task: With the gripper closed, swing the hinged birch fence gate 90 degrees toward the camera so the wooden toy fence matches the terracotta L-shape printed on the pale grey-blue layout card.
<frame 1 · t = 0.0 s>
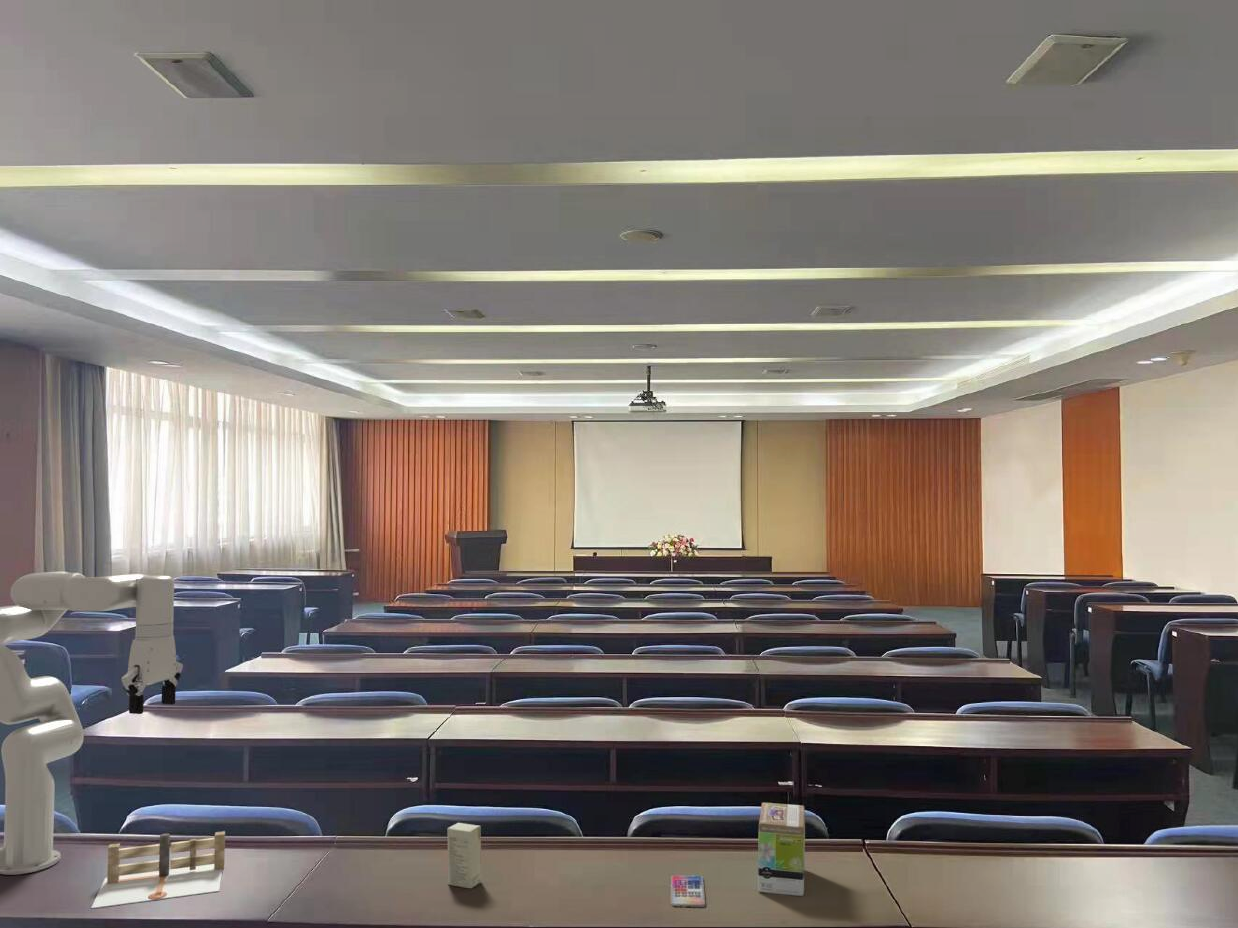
hand: (152, 708, 202), 37 cm above the table, tool pointing down, fingers open, 9 cm apart
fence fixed: (138, 879, 200), resting on layout card
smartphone: (687, 894, 194), on the table
layout card: (161, 884, 197), on the table
tea box: (782, 881, 200), on the table
skincare box: (464, 884, 199), on the table
fence gate: (197, 852, 205), point 4 cm above the table, hinge at 0.0°
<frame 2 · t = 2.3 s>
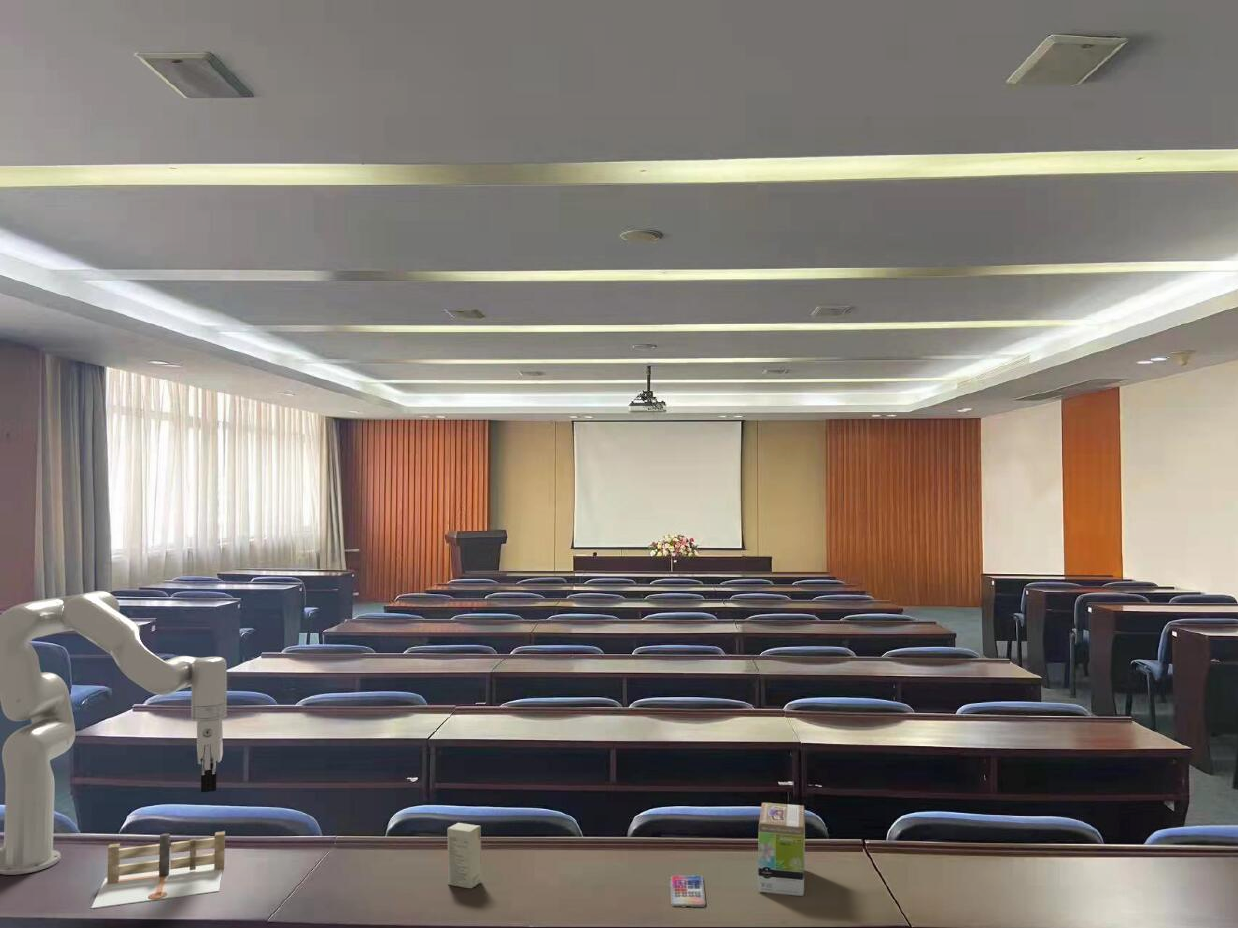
hand: (208, 790, 211), 16 cm above the table, tool pointing down, fingers closed
nothing on the table moved.
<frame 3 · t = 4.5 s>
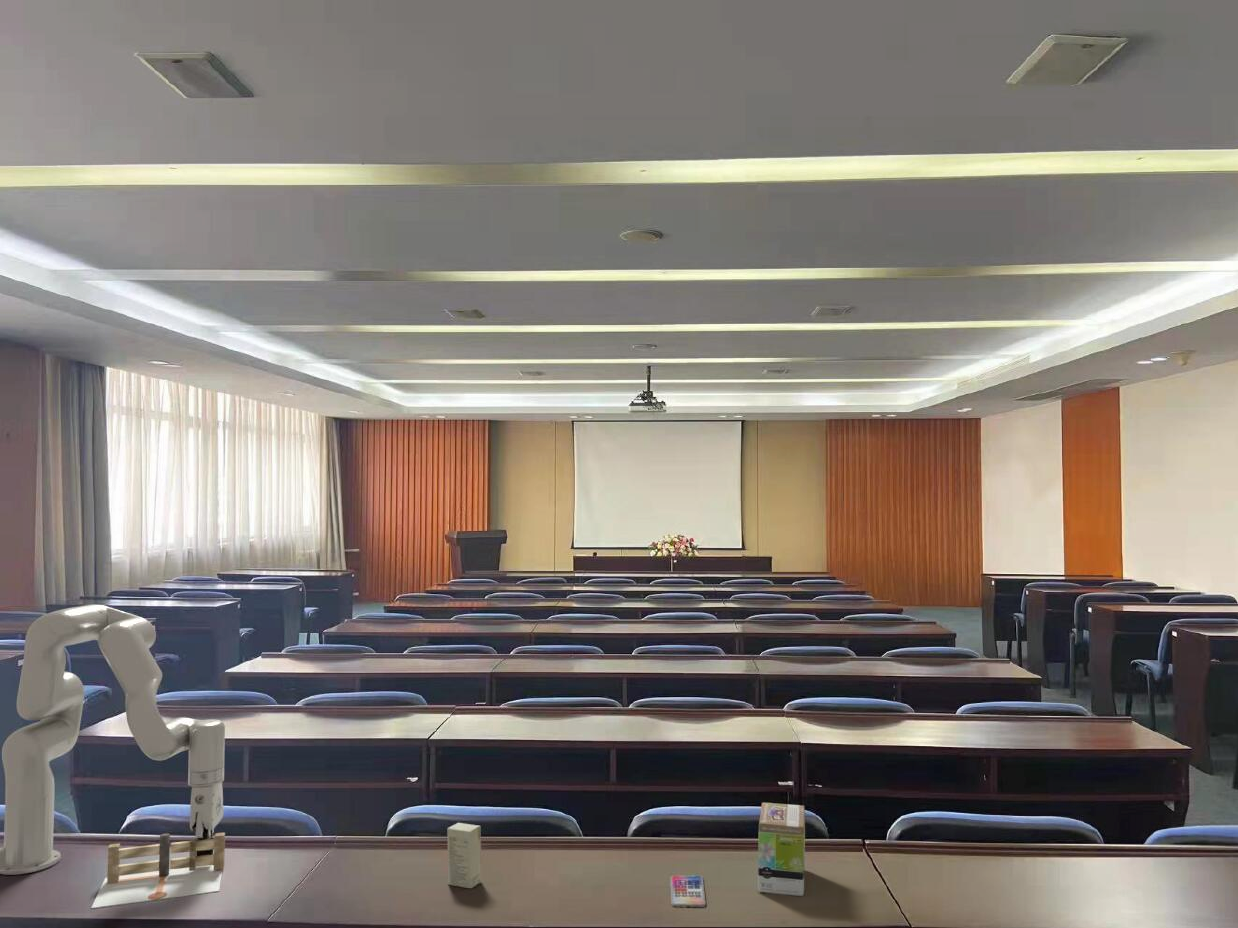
hand: (204, 856, 208), 2 cm above the table, tool pointing down, fingers closed
fence gate: (197, 853, 204), point 4 cm above the table, hinge at -3.8°, touching gripper
everything else where it was.
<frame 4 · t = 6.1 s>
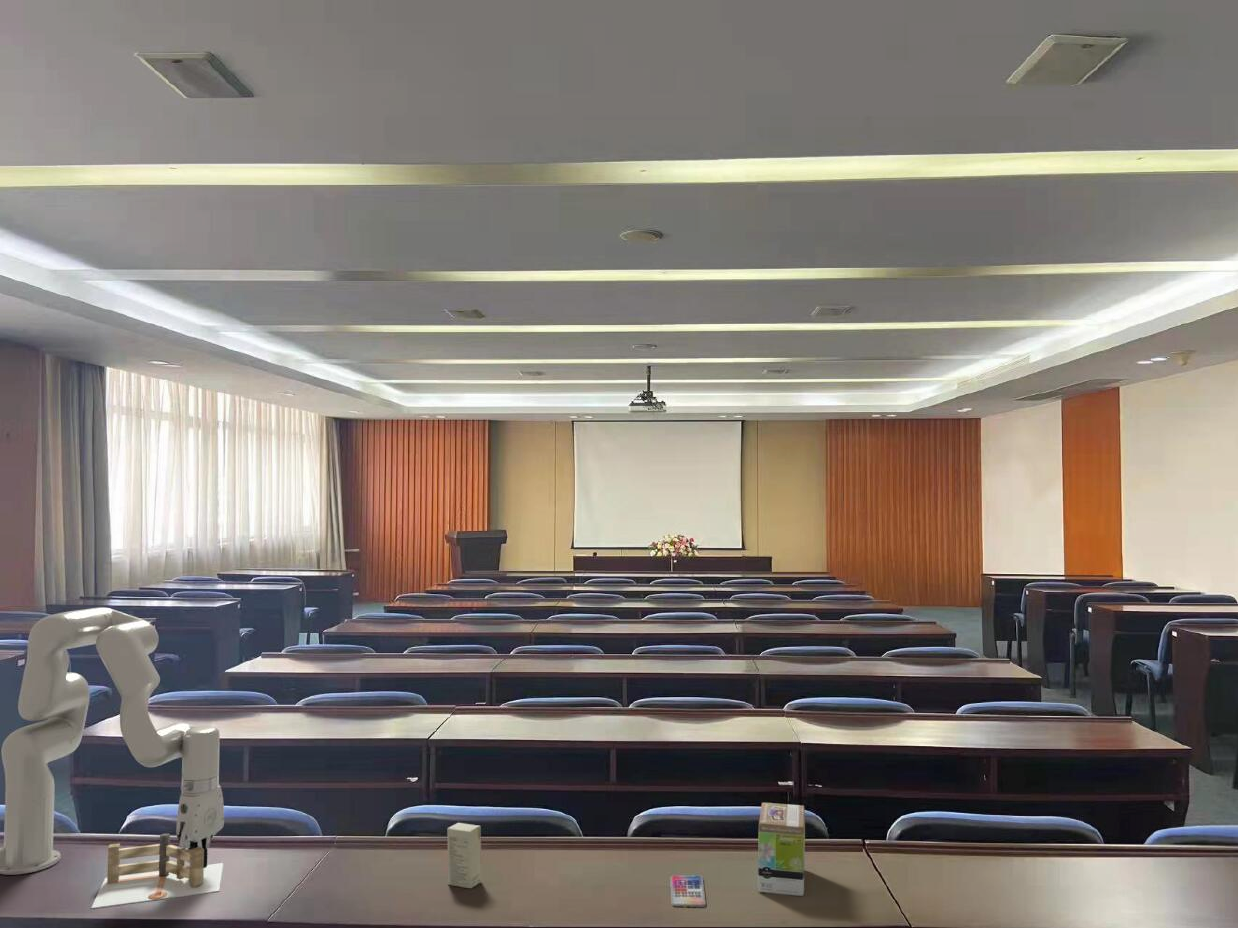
hand: (198, 867, 202), 2 cm above the table, tool pointing down, fingers closed
fence gate: (183, 862, 199), point 4 cm above the table, hinge at -50.4°, touching gripper
everything else where it was.
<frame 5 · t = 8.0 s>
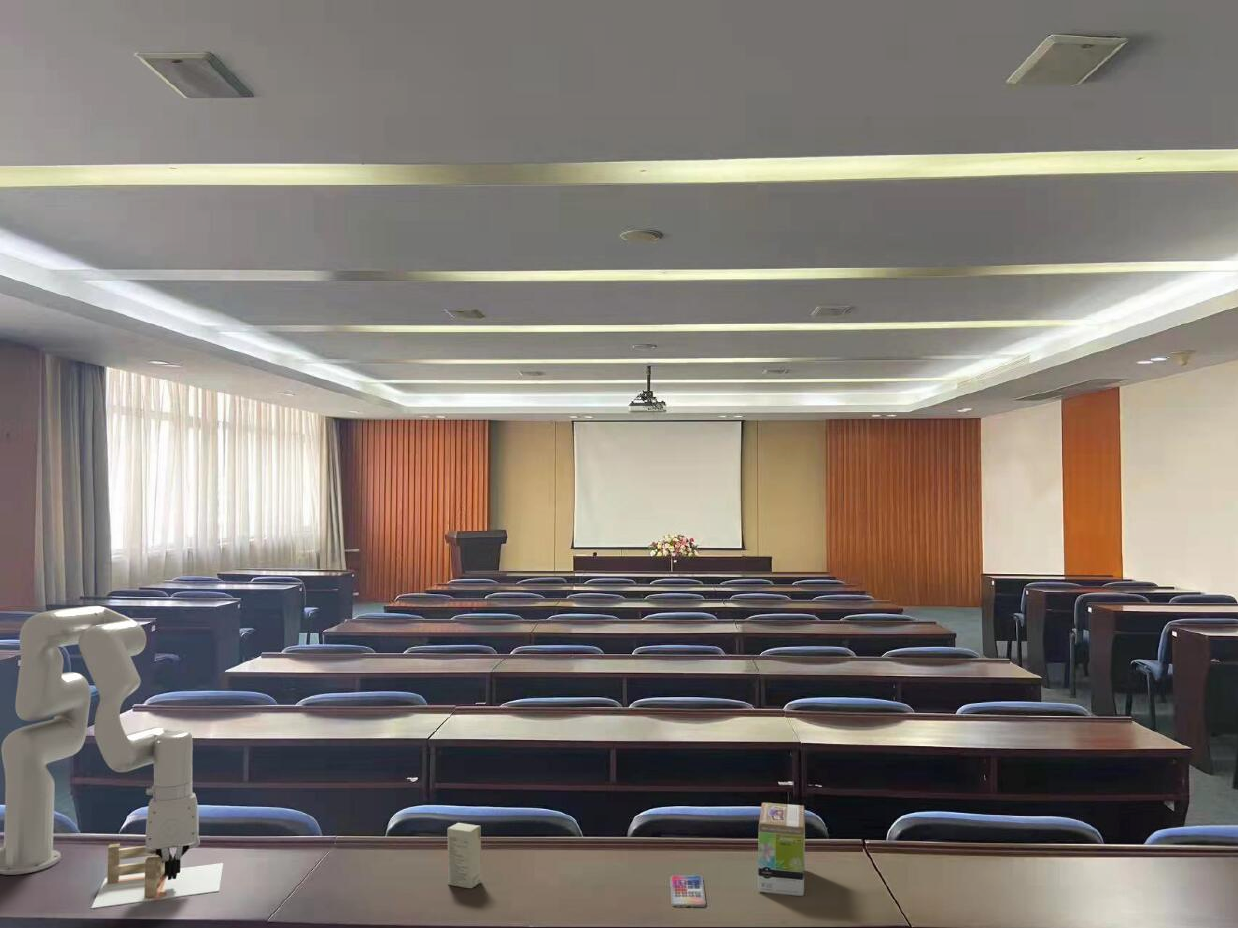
hand: (172, 877, 196), 2 cm above the table, tool pointing down, fingers closed
fence gate: (156, 868, 196), point 4 cm above the table, hinge at -96.6°, touching gripper
everything else where it was.
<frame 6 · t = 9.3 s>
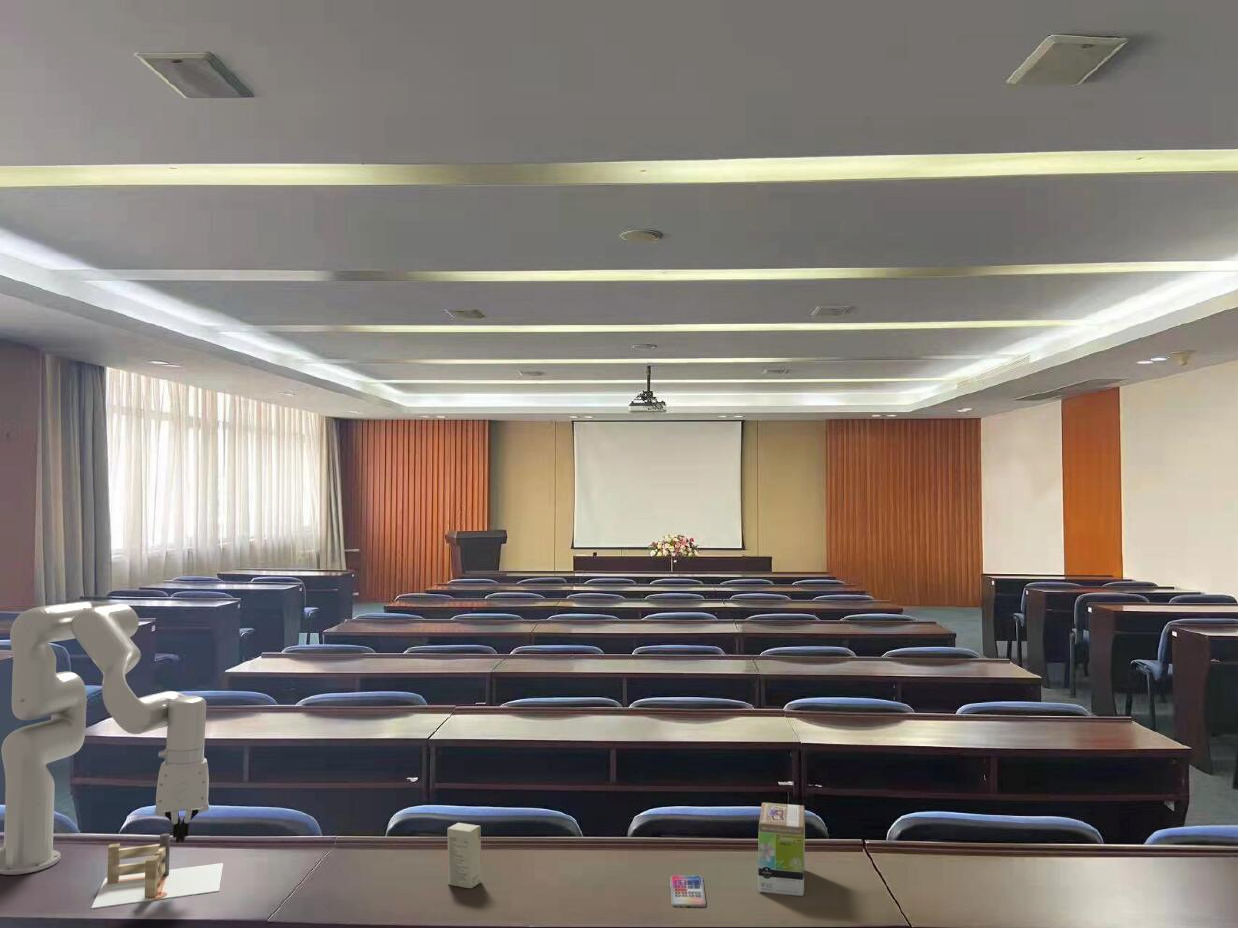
hand: (180, 840, 197), 10 cm above the table, tool pointing down, fingers closed
fence gate: (156, 868, 196), point 4 cm above the table, hinge at -96.4°
everything else where it was.
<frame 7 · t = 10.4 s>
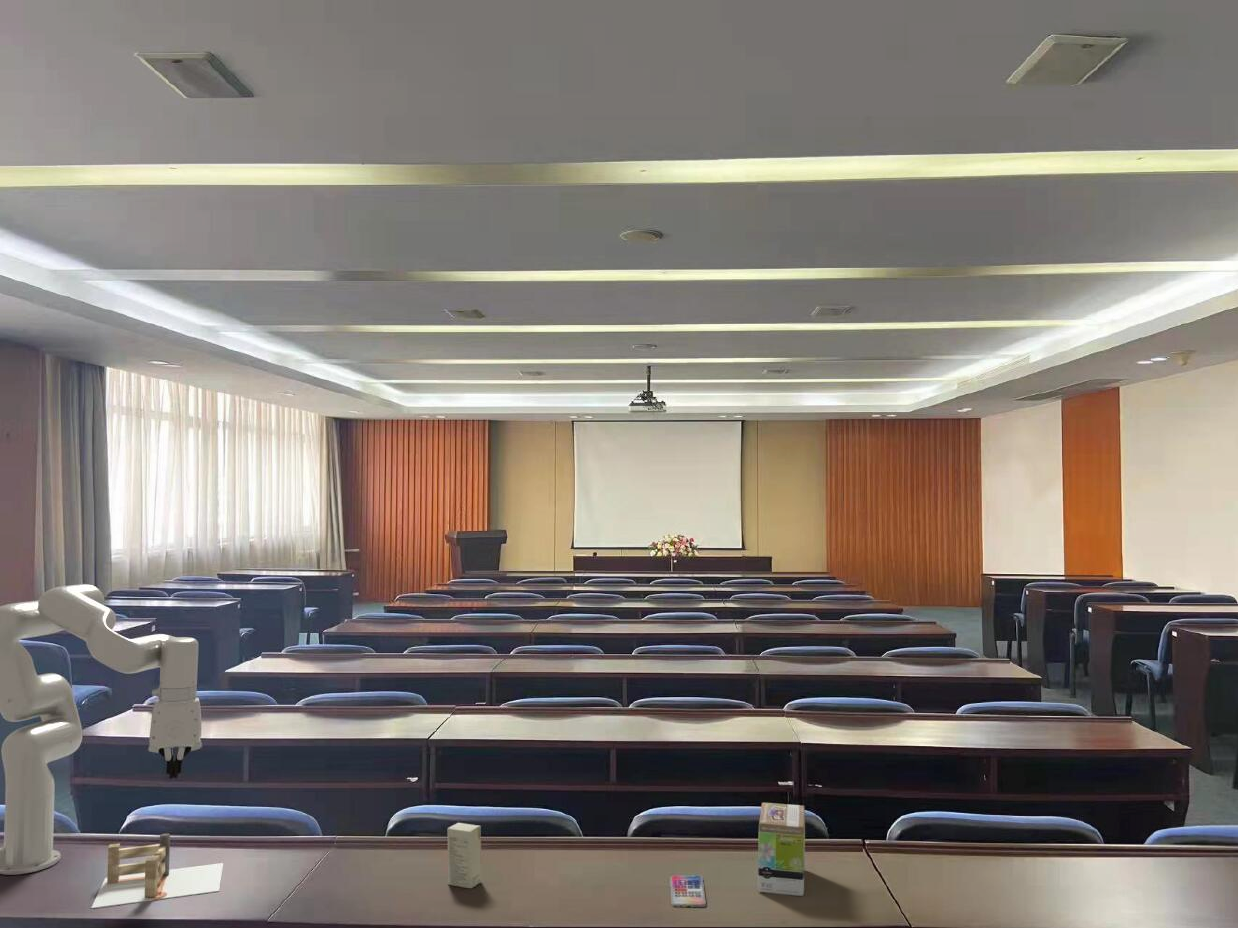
hand: (173, 776, 202), 22 cm above the table, tool pointing down, fingers closed
nothing on the table moved.
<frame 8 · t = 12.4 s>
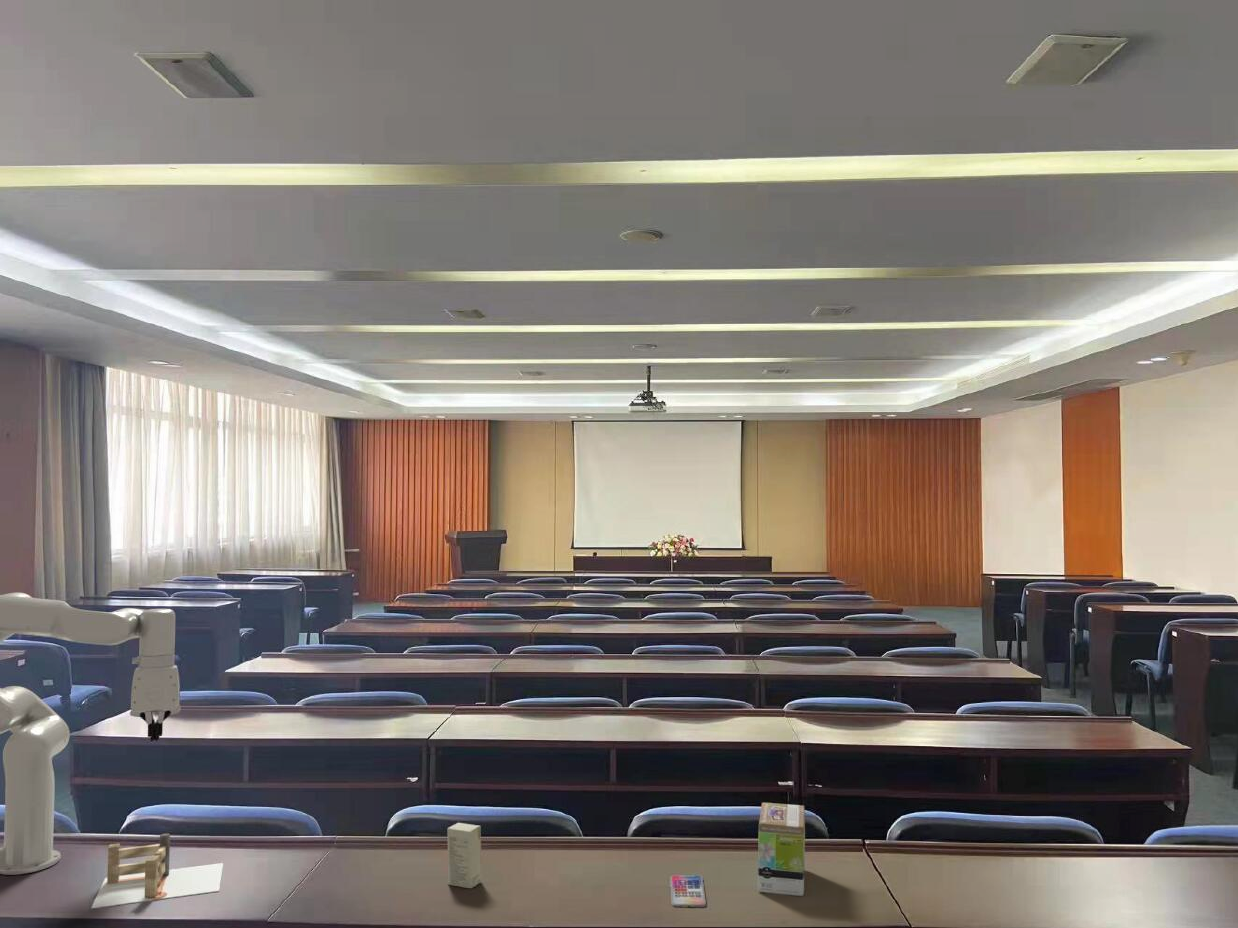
hand: (154, 739, 215), 27 cm above the table, tool pointing down, fingers closed
nothing on the table moved.
at the end: fence gate at -96° (first picture: +0°) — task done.
